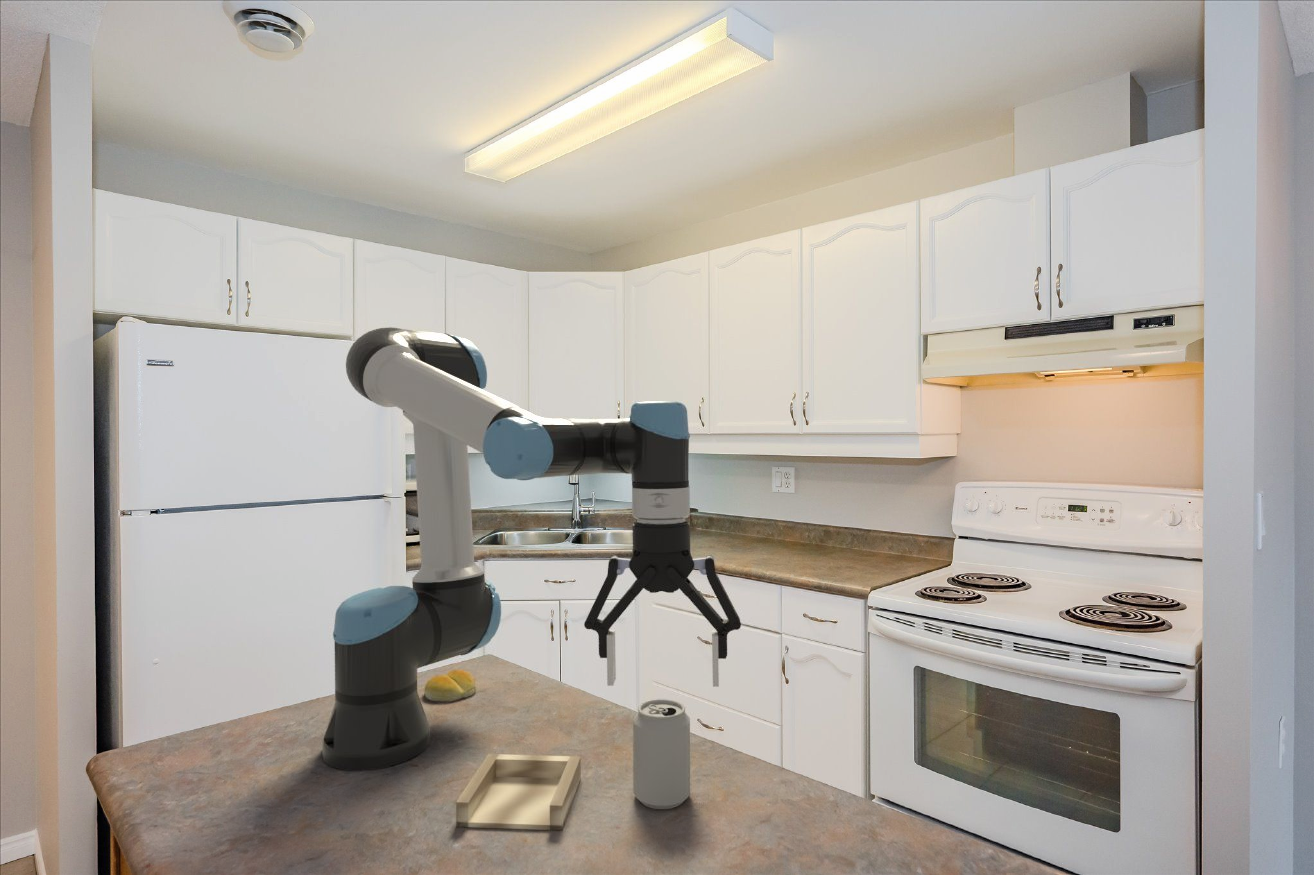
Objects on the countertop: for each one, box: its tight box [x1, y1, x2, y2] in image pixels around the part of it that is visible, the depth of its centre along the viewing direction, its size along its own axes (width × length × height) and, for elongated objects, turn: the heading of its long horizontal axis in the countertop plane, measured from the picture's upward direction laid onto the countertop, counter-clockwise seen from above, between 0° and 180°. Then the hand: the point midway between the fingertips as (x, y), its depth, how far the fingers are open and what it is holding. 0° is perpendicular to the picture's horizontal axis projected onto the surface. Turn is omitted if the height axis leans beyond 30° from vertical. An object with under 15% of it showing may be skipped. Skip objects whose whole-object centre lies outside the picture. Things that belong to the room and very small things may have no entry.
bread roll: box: [423, 669, 478, 703], centre depth 131 cm, size 8×9×4 cm
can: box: [632, 698, 691, 810], centre depth 94 cm, size 8×8×12 cm
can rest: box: [455, 753, 582, 831], centre depth 93 cm, size 13×13×3 cm
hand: (663, 682), depth 94 cm, fingers open, 13 cm apart
